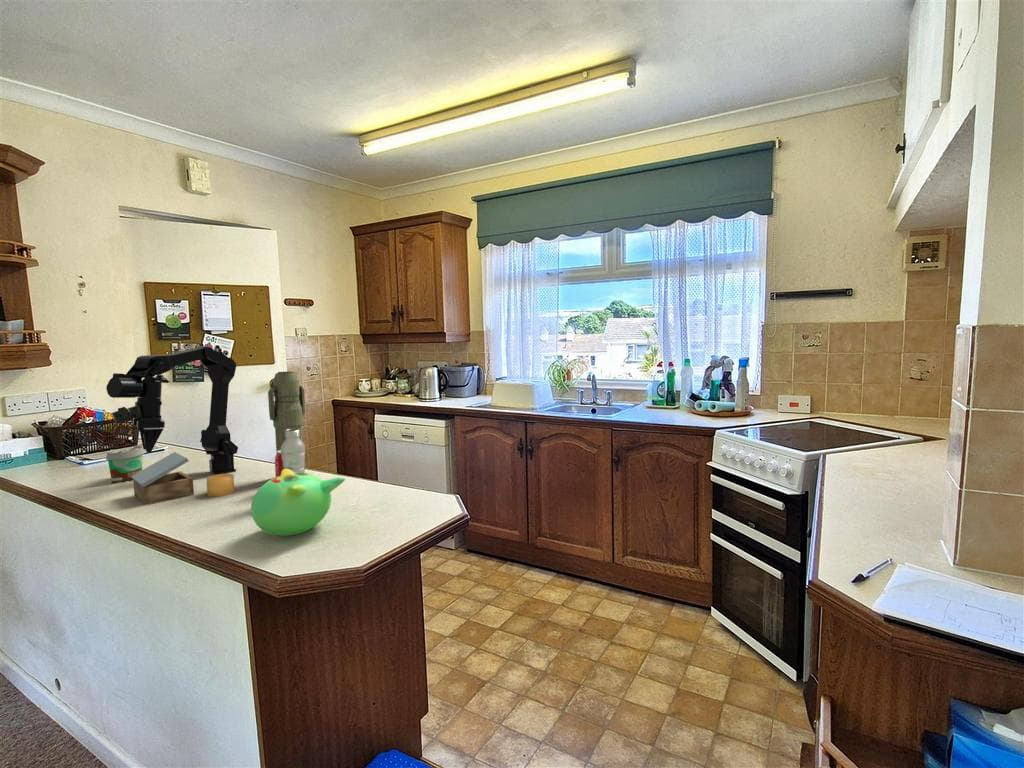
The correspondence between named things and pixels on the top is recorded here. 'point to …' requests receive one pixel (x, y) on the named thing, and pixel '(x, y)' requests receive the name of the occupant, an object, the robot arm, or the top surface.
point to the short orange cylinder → (220, 485)
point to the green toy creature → (292, 502)
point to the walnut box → (165, 488)
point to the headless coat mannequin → (286, 406)
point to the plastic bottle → (293, 451)
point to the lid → (159, 469)
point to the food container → (125, 464)
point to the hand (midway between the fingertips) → (147, 450)
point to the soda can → (278, 463)
